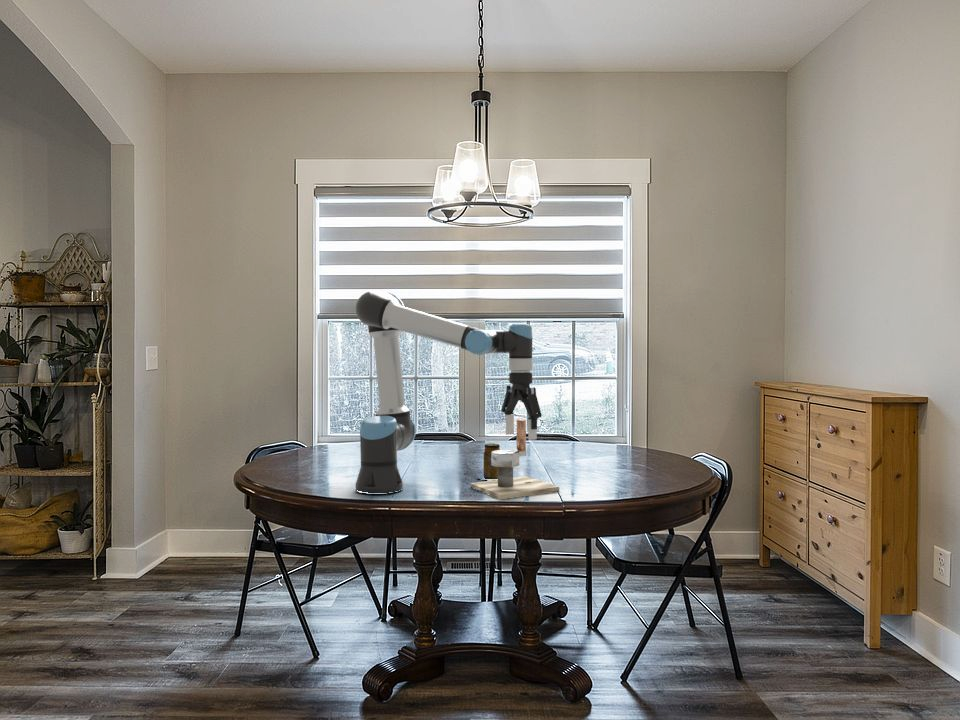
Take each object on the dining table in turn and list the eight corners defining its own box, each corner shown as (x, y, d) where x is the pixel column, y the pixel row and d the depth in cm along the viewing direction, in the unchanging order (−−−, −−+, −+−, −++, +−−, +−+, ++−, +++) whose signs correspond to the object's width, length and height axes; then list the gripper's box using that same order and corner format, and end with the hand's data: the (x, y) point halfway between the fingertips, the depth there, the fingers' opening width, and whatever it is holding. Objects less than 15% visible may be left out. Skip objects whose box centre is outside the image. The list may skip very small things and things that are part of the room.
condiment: (505, 477, 240) (504, 443, 240) (495, 482, 232) (495, 447, 232) (485, 475, 243) (485, 442, 243) (476, 480, 235) (476, 445, 235)
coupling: (501, 468, 213) (501, 423, 212) (485, 463, 222) (485, 420, 221) (533, 465, 218) (533, 421, 218) (517, 460, 227) (516, 418, 227)
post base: (470, 487, 223) (470, 463, 223) (526, 480, 234) (526, 457, 234) (500, 499, 207) (500, 473, 207) (559, 491, 218) (559, 466, 217)
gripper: (552, 372, 212) (552, 440, 213) (510, 369, 234) (510, 431, 235) (532, 373, 208) (532, 442, 209) (491, 370, 230) (491, 432, 231)
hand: (520, 436), depth 222 cm, fingers open, 13 cm apart
